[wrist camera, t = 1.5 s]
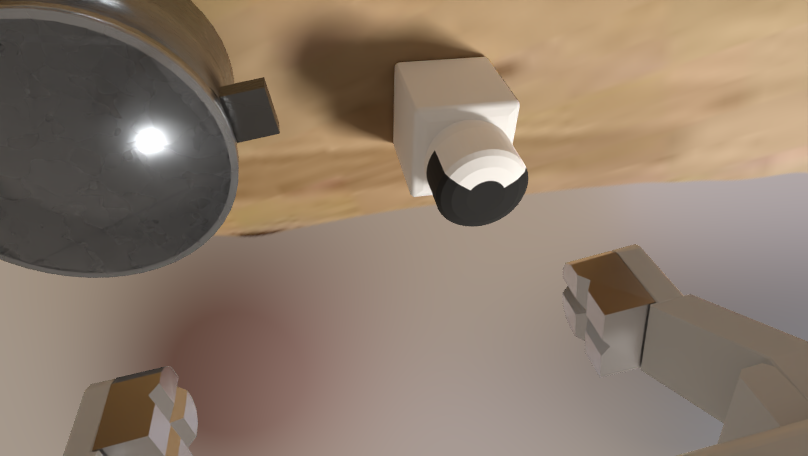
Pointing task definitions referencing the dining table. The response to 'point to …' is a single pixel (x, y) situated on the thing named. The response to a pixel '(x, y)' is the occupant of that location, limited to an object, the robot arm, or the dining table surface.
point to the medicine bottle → (458, 138)
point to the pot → (117, 134)
